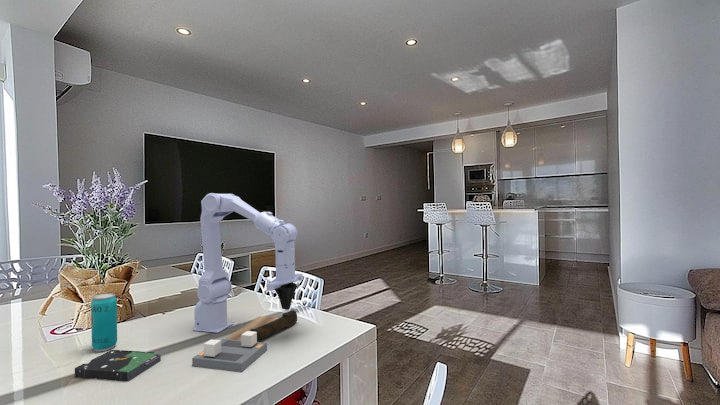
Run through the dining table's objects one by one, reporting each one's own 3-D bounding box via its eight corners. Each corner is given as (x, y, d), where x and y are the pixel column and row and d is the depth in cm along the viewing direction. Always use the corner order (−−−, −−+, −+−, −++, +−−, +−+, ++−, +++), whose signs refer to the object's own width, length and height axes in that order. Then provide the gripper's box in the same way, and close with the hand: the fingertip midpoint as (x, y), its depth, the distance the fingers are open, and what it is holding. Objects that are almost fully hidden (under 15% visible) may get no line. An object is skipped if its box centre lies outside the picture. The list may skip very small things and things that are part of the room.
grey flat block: (192, 365, 84) (192, 357, 84) (222, 345, 95) (222, 338, 95) (241, 371, 80) (241, 363, 80) (267, 350, 92) (266, 342, 92)
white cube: (203, 355, 84) (203, 343, 84) (211, 350, 87) (211, 339, 87) (214, 356, 83) (214, 344, 83) (221, 351, 86) (221, 340, 86)
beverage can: (95, 346, 96) (94, 294, 96) (119, 342, 98) (118, 292, 98) (88, 354, 91) (87, 299, 91) (114, 350, 93) (113, 297, 93)
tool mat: (217, 346, 97) (217, 343, 97) (259, 319, 119) (259, 316, 119) (244, 349, 95) (244, 345, 95) (282, 320, 117) (282, 318, 117)
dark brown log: (258, 344, 96) (258, 328, 96) (248, 341, 98) (248, 325, 98) (303, 324, 112) (303, 310, 112) (294, 321, 114) (294, 308, 114)
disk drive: (73, 380, 79) (129, 383, 77) (73, 368, 79) (128, 371, 77) (111, 359, 89) (162, 361, 87) (111, 349, 89) (161, 351, 87)
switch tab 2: (241, 346, 90) (241, 334, 90) (247, 341, 92) (247, 330, 92) (251, 347, 89) (251, 335, 89) (256, 342, 92) (256, 331, 92)
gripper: (280, 269, 93) (280, 318, 93) (310, 260, 106) (310, 303, 106) (260, 267, 96) (261, 314, 96) (292, 259, 109) (292, 300, 109)
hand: (286, 308), depth 101 cm, fingers closed
